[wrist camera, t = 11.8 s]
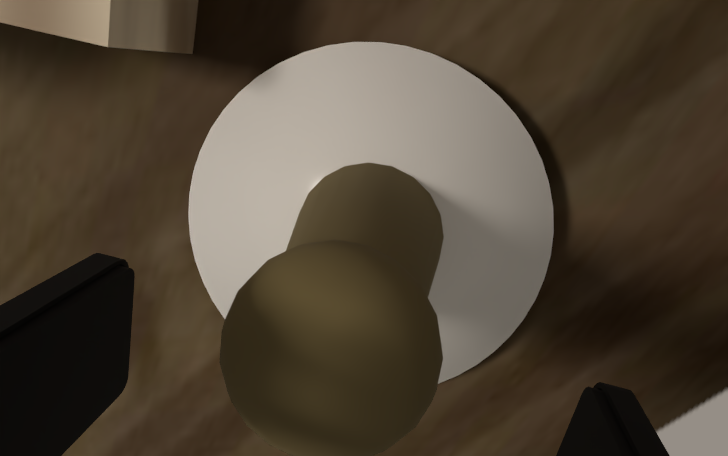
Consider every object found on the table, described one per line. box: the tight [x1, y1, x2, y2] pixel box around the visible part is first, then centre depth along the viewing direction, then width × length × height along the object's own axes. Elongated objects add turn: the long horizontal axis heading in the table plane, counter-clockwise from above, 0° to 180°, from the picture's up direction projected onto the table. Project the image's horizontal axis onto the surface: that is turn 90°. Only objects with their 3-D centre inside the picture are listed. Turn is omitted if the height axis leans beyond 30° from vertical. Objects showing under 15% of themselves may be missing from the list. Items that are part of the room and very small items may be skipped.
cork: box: [220, 162, 444, 456], centre depth 16 cm, size 6×6×11 cm
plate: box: [188, 42, 554, 384], centre depth 22 cm, size 15×15×1 cm
